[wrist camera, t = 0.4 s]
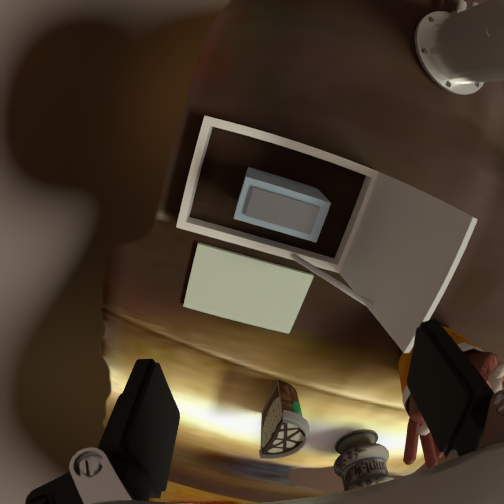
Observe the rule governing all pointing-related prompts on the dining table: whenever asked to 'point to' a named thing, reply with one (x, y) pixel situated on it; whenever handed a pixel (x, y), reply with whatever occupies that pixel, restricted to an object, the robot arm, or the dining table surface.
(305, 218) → the box
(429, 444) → the bucket of meat
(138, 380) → the robot arm
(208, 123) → the case
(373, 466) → the apothecary jar
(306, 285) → the mat
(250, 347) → the dining table surface
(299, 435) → the food container
